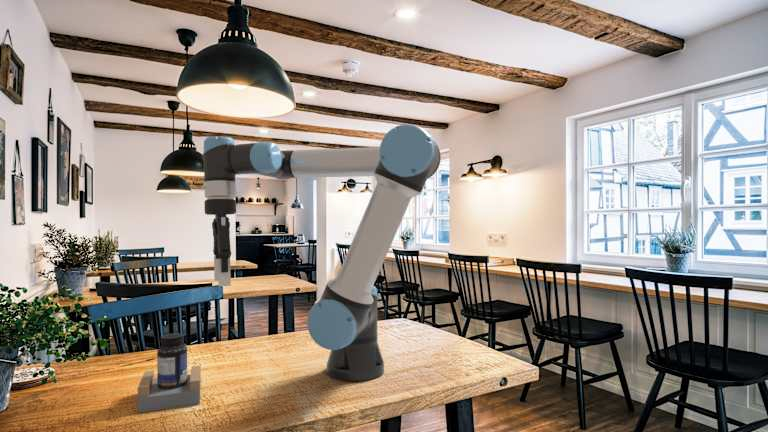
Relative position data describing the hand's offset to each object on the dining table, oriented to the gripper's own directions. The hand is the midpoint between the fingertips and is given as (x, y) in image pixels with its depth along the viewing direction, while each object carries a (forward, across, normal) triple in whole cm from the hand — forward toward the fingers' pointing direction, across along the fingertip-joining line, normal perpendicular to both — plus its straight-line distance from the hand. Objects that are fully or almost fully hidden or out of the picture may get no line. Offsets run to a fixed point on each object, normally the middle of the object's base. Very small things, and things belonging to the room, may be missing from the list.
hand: (222, 283), depth 114 cm
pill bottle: (+21, +8, -12) cm, 25 cm away
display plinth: (+24, +8, -12) cm, 28 cm away
